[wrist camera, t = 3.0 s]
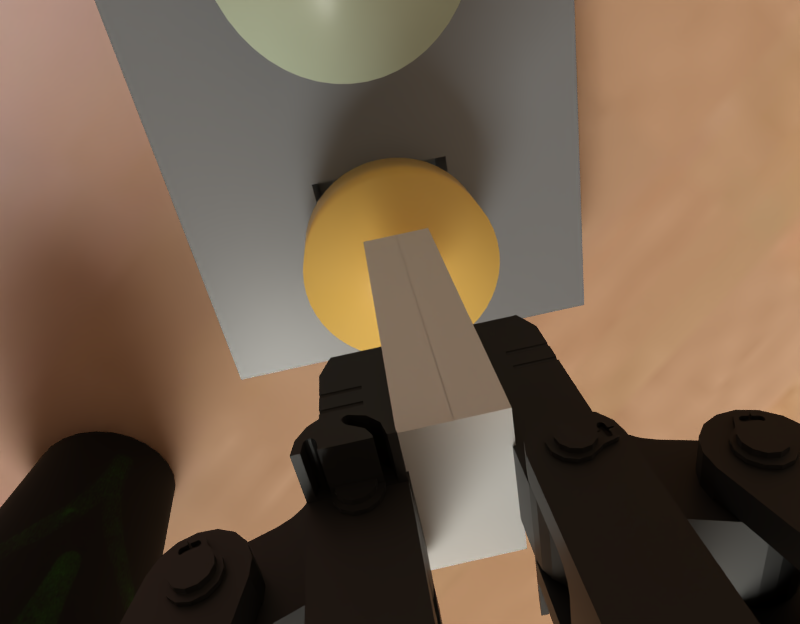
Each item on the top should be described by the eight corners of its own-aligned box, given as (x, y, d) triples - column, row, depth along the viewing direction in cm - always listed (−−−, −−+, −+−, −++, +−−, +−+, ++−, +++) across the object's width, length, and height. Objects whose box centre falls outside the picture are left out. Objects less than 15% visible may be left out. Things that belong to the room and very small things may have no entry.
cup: (75, 564, 27) (-89, 926, 16) (-33, 446, 23) (-333, 813, 13) (230, 514, 26) (165, 851, 16) (145, 387, 23) (-10, 712, 12)
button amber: (288, 158, 18) (278, 199, 14) (453, 123, 18) (488, 154, 14) (329, 305, 20) (329, 374, 16) (474, 274, 20) (508, 335, 16)
